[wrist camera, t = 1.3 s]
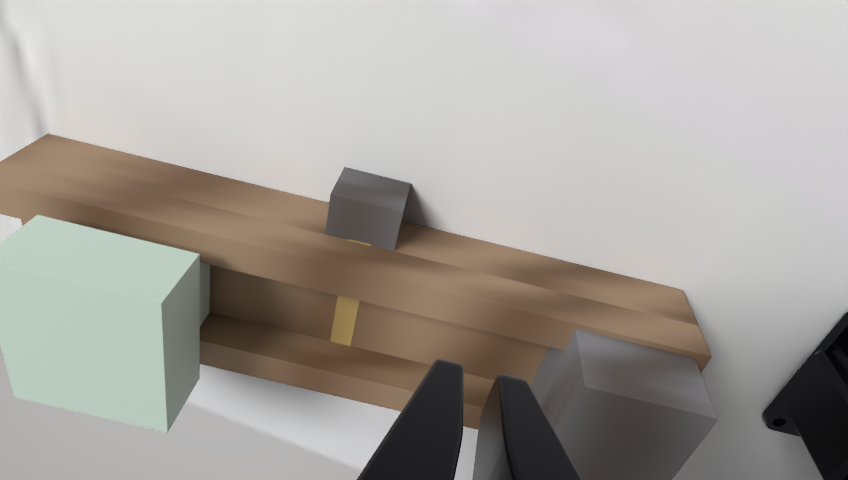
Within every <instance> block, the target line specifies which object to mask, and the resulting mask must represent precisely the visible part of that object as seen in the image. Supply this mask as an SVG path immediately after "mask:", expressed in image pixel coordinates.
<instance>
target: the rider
mask: <svg viewBox="0 0 848 480" xmlns="http://www.w3.org/2000/svg"><path fill="white" fill-rule="evenodd" d="M209 312H210V264H206V263H202V262H200V254H198V253H194V252H189V251H185V250H181V249H177V248H173V247H169V246H165V245H161V244H156V243H152V242H148V241H144V240H140V239H136V238H132V237H127V236H123V235H119V234H115V233H111V232H107V231H103V230H99V229H94V228H90V227H86V226H82V225H78V224H74V223H70V222H66V221H61V220H57V219H53V218H49V217H45V216H41V215H36V216H35V217H34V218H32V219H31V220H30V221H28V222H27V223H26V224H25V225H23V226H22V227H21V228H19V229H18V230H17V231H15V232H14V233H13V234H11V235H10V236H9V237H7V238H6V239H5V240H3V241H2V242H1V243H0V345H1V349H2V352H3V356H4V359H5V363H6V367H7V371H8V375H9V379H10V382H11V386H12V390H13V393H14V397H16V398H21V399H25V400H29V401H33V402H37V403H42V404H46V405H50V406H55V407H59V408H64V409H68V410H72V411H76V412H80V413H85V414H89V415H93V416H97V417H102V418H106V419H111V420H115V421H119V422H123V423H128V424H132V425H136V426H141V427H145V428H149V429H153V430H158V431H162V432H166V433H167V432H168V431H169V429H170V428H171V426H172V424H173V422H174V421H175V419H176V417H177V415H178V414H179V412H180V410H181V409H182V407H183V405H184V404H185V402H186V400H187V398H188V397H189V395H190V393H191V392H192V390H193V388H194V387H195V385H196V383H197V381H198V380H199V370H200V326H201V324H202V323H203V321H204V320H205V318H206V317H207V315H208V314H209Z"/></svg>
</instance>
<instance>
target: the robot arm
mask: <svg viewBox="0 0 848 480" xmlns="http://www.w3.org/2000/svg"><path fill="white" fill-rule="evenodd" d="M463 398H464V368H463V366H462V365H461V364H460V363H456V362H452V361H448V360H444V359H437V360H436V361H435V362H434V363H433V365H432V366H431V368H430V369H429V371H428V372H427V374H426V375H425V377H424V378H423V380H422V381H421V383H420V384H419V386H418V387H417V389H416V390H415V392H414V394H413V395H412V397H411V398H410V400H409V401H408V403H407V404H406V406H405V407H404V409H403V410H402V412H401V413H400V415H399V416H398V418H397V419H396V421H395V422H394V424H393V425H392V427H391V429H390V430H389V432H388V433H387V435H386V436H385V438H384V439H383V441H382V442H381V444H380V445H379V447H378V448H377V450H376V451H375V453H374V454H373V456H372V457H371V459H370V460H369V462H368V464H367V465H366V467H365V468H364V470H363V471H362V473H361V474H360V476H359V477H358V479H357V480H454V477H455V472H456V467H457V462H458V457H459V453H460V448H461V442H462V435H463ZM762 417H763V420H764V422H765V424H766V426H767V427H768V428H769V429H772V430H775V431H779V432H783V433H788V434H792V435H796V436H800V437H801V438H802V440H803V442H804V444H805V446H806V448H807V450H808V452H809V453H810V455H811V457H812V459H813V461H814V463H815V465H816V467H817V469H818V470H819V472H820V474H821V476H822V478H823V480H848V313H846V314H845V315H844V316H843V318H842V319H841V320H840V321H839V322H838V324H837V325H836V326H835V327H834V328H833V330H832V331H831V332H830V333H829V334H828V336H827V337H826V338H825V339H824V340H823V342H822V343H821V344H820V345H819V346H818V348H817V349H816V350H815V351H814V352H813V354H812V355H811V356H810V357H809V358H808V360H807V361H806V362H805V363H804V364H803V366H802V367H801V368H800V369H799V370H798V372H797V373H796V374H795V375H794V376H793V378H792V379H791V380H790V381H789V382H788V384H787V385H786V386H785V387H784V388H783V390H782V391H781V392H780V393H779V394H778V396H777V397H776V398H775V399H774V400H773V402H772V403H771V404H770V405H769V406H768V408H767V409H766V410H765V411H764V413H763V415H762ZM473 480H582V479H581V477H580V475H579V473H578V471H577V470H576V468H575V466H574V464H573V463H572V461H571V459H570V457H569V455H568V454H567V452H566V450H565V448H564V446H563V445H562V443H561V441H560V439H559V437H558V436H557V434H556V432H555V430H554V428H553V427H552V425H551V423H550V421H549V420H548V418H547V416H546V414H545V412H544V411H543V409H542V407H541V405H540V403H539V402H538V400H537V398H536V396H535V394H534V393H533V391H532V389H531V387H530V385H529V384H528V382H527V381H526V380H525V379H523V378H519V377H515V376H511V375H507V374H499V375H498V376H497V377H496V379H495V381H494V383H493V386H492V388H491V390H490V393H489V395H488V398H487V400H486V402H485V405H484V407H483V410H482V413H481V418H480V423H479V431H478V439H477V447H476V455H475V464H474V472H473Z"/></svg>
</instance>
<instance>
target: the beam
mask: <svg viewBox="0 0 848 480" xmlns="http://www.w3.org/2000/svg"><path fill="white" fill-rule="evenodd" d="M410 185H411V184H410V183H406V182H402V181H398V180H394V179H390V178H386V177H382V176H378V175H374V174H370V173H366V172H362V171H358V170H354V169H350V168H346V167H344V169H343V171H342V173H341V175H340V177H339V179H338V181H337V183H336V185H335V187H334V189H333V191H332V193H331V196H330V203H327V202H323V201H318V200H314V199H310V198H306V197H302V196H298V195H294V194H290V193H286V192H282V191H278V190H274V189H270V188H266V187H262V186H258V185H254V184H249V183H245V182H241V181H237V180H233V179H229V178H225V177H221V176H217V175H213V174H209V173H205V172H201V171H197V170H193V169H189V168H184V167H180V166H176V165H172V164H168V163H164V162H160V161H156V160H152V159H148V158H144V157H140V156H136V155H132V154H128V153H124V152H119V151H115V150H111V149H107V148H103V147H99V146H95V145H91V144H87V143H83V142H79V141H75V140H71V139H67V138H63V137H59V136H54V135H50V134H46V135H45V136H43V137H41V138H40V139H38V140H36V141H35V142H33V143H31V144H30V145H28V146H26V147H24V148H23V149H21V150H19V151H18V152H16V153H14V154H13V155H11V156H9V157H8V158H6V159H4V160H2V161H1V162H0V214H3V215H7V216H11V217H15V218H20V219H21V221H22V226H23V225H25V224H26V223H27V222H28V221H30V220H31V219H32V218H34V217H35V216H36V215H41V216H45V217H49V218H53V219H57V220H61V221H66V222H70V223H74V224H78V225H82V226H86V227H90V228H94V229H99V230H103V231H107V232H111V233H115V234H119V235H123V236H127V237H132V238H136V239H140V240H144V241H148V242H152V243H156V244H161V245H165V246H169V247H173V248H177V249H181V250H185V251H189V252H194V253H198V254H200V262H202V263H206V264H210V312H209V314H208V315H207V317H206V318H205V320H204V321H203V323H202V324H201V326H200V364H203V365H208V366H212V367H216V368H220V369H225V370H229V371H233V372H237V373H241V374H246V375H250V376H254V377H258V378H263V379H267V380H271V381H275V382H279V383H284V384H288V385H292V386H296V387H301V388H305V389H309V390H313V391H317V392H322V393H326V394H330V395H334V396H339V397H343V398H347V399H351V400H355V401H360V402H364V403H368V404H372V405H377V406H381V407H385V408H389V409H393V410H398V411H402V410H403V409H404V407H405V406H406V404H407V403H408V401H409V400H410V398H411V397H412V395H413V394H414V392H415V390H416V389H417V387H418V386H419V384H420V383H421V381H422V380H423V378H424V377H425V375H426V374H427V372H428V371H429V369H430V368H431V366H432V365H433V363H434V362H435V361H436V360H437V359H444V360H448V361H452V362H456V363H460V364H461V365H462V366H463V368H464V398H463V426H465V427H469V428H474V429H478V430H479V423H480V418H481V413H482V410H483V407H484V405H485V402H486V400H487V398H488V395H489V393H490V390H491V388H492V386H493V383H494V381H495V379H496V377H497V376H498V375H499V374H507V375H511V376H515V377H519V378H523V379H525V380H526V381H527V382H528V384H529V385H530V387H531V389H532V391H533V393H534V394H535V396H536V398H537V400H538V402H539V403H540V405H541V407H542V409H543V411H544V412H545V414H546V416H547V418H548V420H549V421H550V423H551V425H552V427H553V428H554V430H555V432H556V434H557V436H558V437H559V439H560V441H561V443H562V445H563V446H564V448H565V450H566V452H567V454H568V455H569V457H570V459H571V461H572V463H573V464H574V466H575V468H576V470H577V471H578V473H579V475H580V477H581V479H582V480H672V478H673V477H674V476H675V475H676V473H677V472H678V471H679V469H680V468H681V467H682V466H683V464H684V463H685V462H686V460H687V459H688V458H689V457H690V455H691V454H692V453H693V451H694V450H695V449H696V448H697V446H698V445H699V444H700V442H701V441H702V440H703V438H704V437H705V436H706V435H707V433H708V432H709V431H710V429H711V428H712V427H713V426H714V424H715V423H716V422H717V420H718V419H719V418H718V416H717V413H716V411H715V408H714V406H713V403H712V401H711V398H710V396H709V393H708V391H707V388H706V386H705V383H704V381H703V378H702V376H701V372H702V370H703V369H704V367H705V366H706V365H707V363H708V362H709V360H710V359H711V357H712V355H711V353H710V351H709V349H708V346H707V344H706V342H705V339H704V337H703V335H702V332H701V330H700V328H699V326H698V323H697V321H696V319H695V316H694V314H693V312H692V309H691V307H690V305H689V303H688V300H687V298H686V296H685V293H684V291H683V290H680V289H676V288H672V287H668V286H664V285H660V284H656V283H652V282H647V281H643V280H639V279H635V278H631V277H627V276H623V275H619V274H615V273H611V272H607V271H603V270H599V269H595V268H591V267H587V266H583V265H578V264H574V263H570V262H566V261H562V260H558V259H554V258H550V257H546V256H542V255H538V254H534V253H530V252H526V251H522V250H518V249H513V248H509V247H505V246H501V245H497V244H493V243H489V242H485V241H481V240H477V239H473V238H469V237H465V236H461V235H457V234H453V233H448V232H444V231H440V230H436V229H432V228H428V227H424V226H420V225H416V224H412V223H408V222H404V221H402V219H403V215H404V211H405V206H406V202H407V198H408V194H409V189H410Z"/></svg>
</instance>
